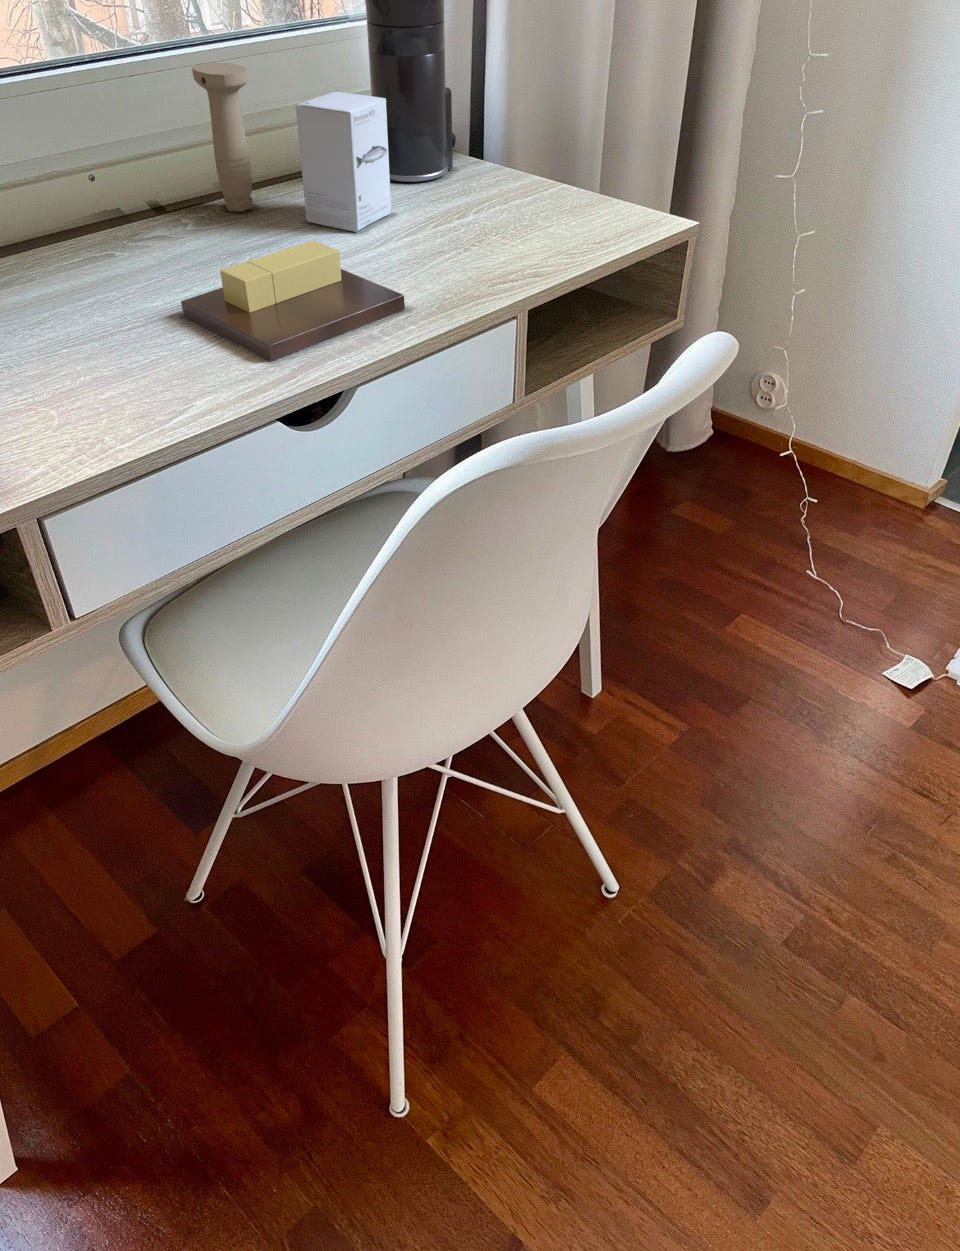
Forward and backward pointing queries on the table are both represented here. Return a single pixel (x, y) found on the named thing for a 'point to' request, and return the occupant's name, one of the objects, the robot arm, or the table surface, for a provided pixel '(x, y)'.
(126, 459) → the table surface
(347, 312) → the board
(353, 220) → the white packaging box
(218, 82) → the handle
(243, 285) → the butter pat
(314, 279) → the butter stick
